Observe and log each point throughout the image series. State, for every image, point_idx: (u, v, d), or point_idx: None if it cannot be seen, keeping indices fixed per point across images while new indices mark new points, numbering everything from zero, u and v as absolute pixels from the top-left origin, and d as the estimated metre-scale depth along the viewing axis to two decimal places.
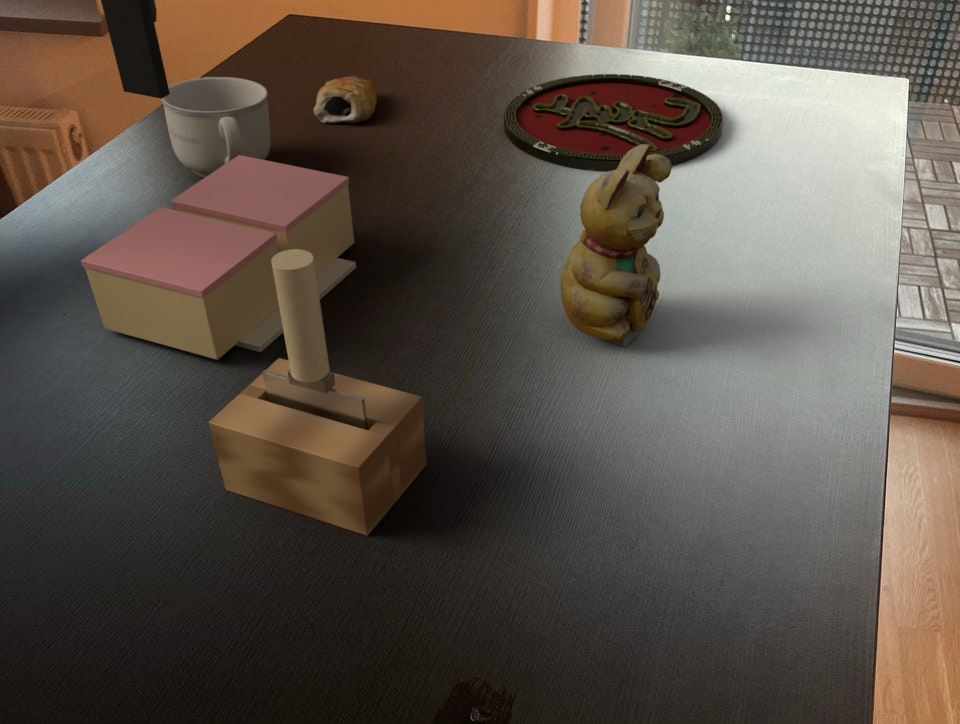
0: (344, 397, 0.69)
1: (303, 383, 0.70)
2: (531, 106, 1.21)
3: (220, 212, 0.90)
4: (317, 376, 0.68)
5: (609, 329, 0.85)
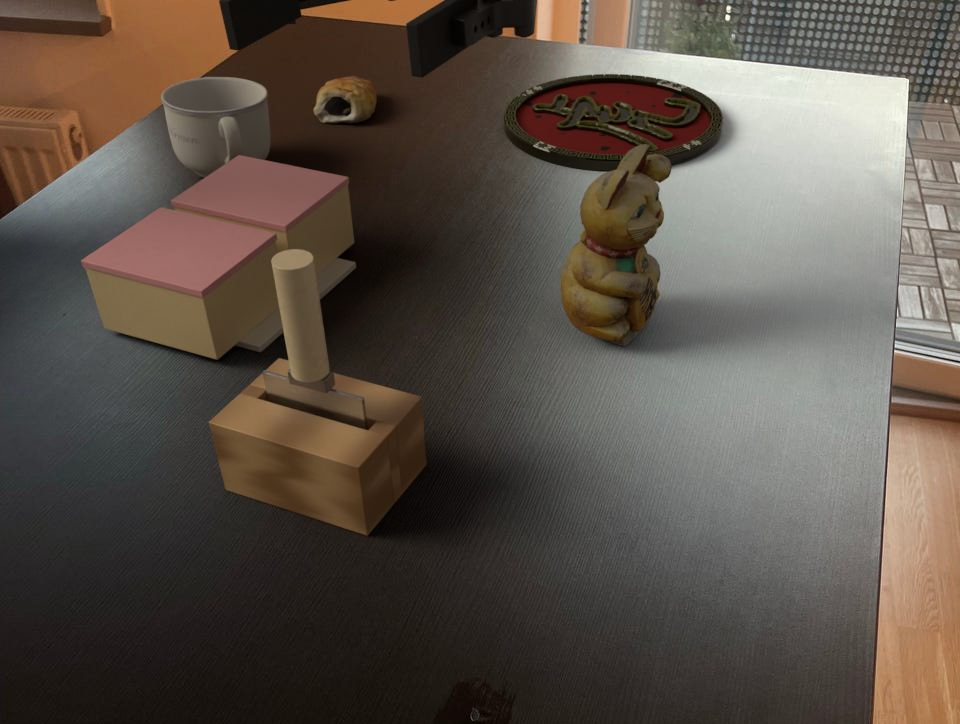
0: (344, 397, 0.69)
1: (303, 383, 0.70)
2: (531, 106, 1.21)
3: (220, 212, 0.90)
4: (317, 376, 0.68)
5: (609, 329, 0.85)
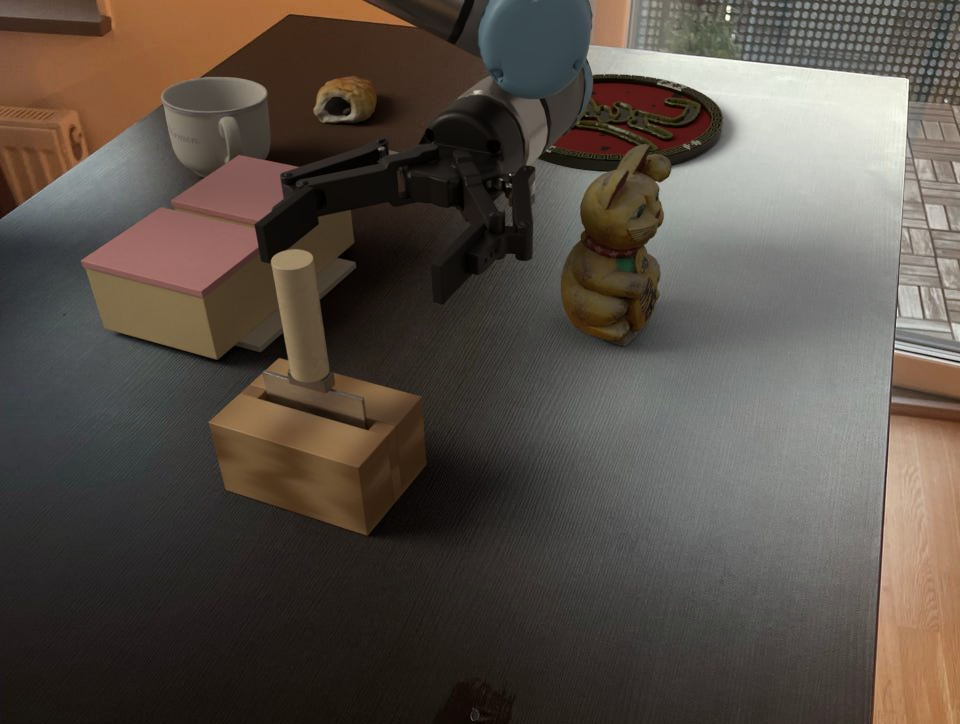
0: (344, 397, 0.69)
1: (303, 383, 0.70)
2: None
3: (220, 212, 0.90)
4: (317, 376, 0.68)
5: (609, 329, 0.85)
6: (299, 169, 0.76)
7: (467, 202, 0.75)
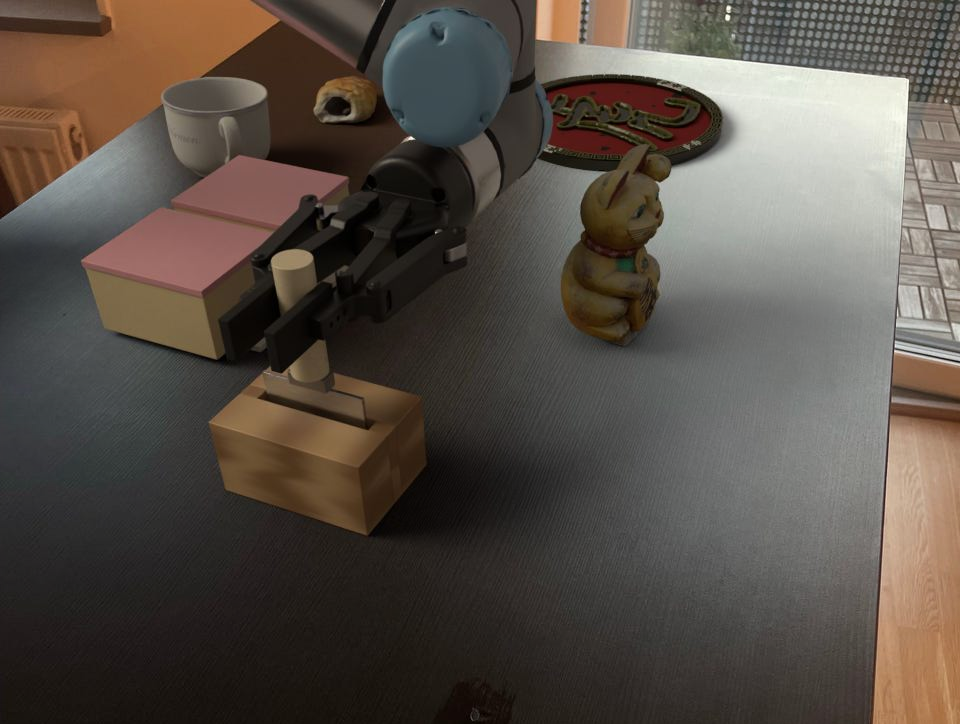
0: (344, 397, 0.69)
1: (303, 383, 0.70)
2: None
3: (220, 212, 0.90)
4: (317, 376, 0.68)
5: (609, 329, 0.85)
6: (263, 247, 0.68)
7: None
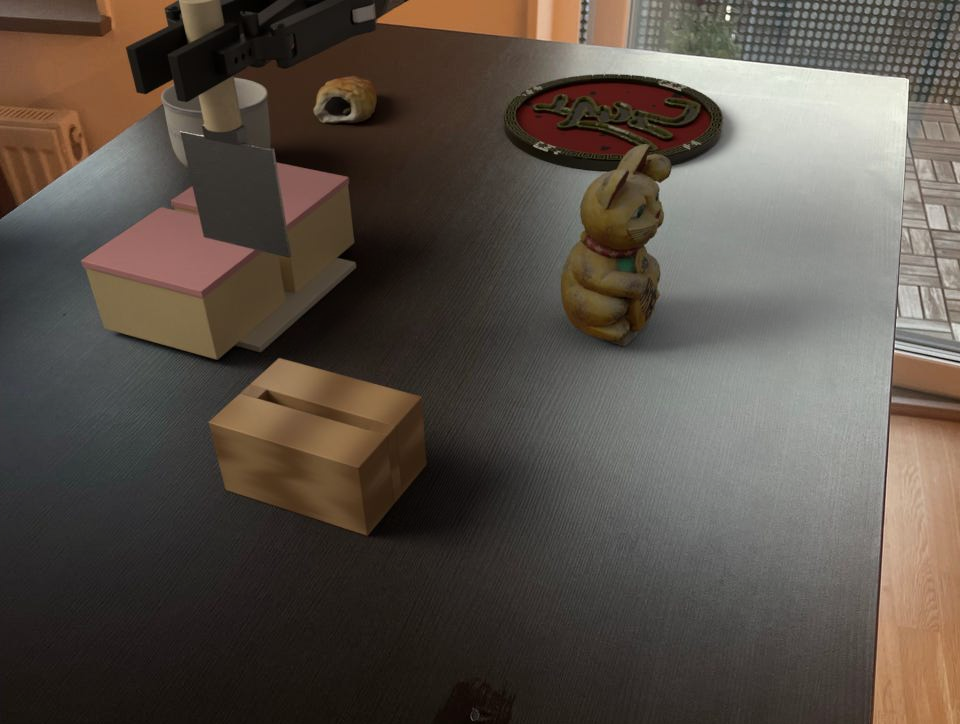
0: (256, 150, 0.73)
1: (217, 137, 0.73)
2: (531, 106, 1.21)
3: None
4: (228, 126, 0.72)
5: (609, 329, 0.85)
6: (178, 2, 0.72)
7: None
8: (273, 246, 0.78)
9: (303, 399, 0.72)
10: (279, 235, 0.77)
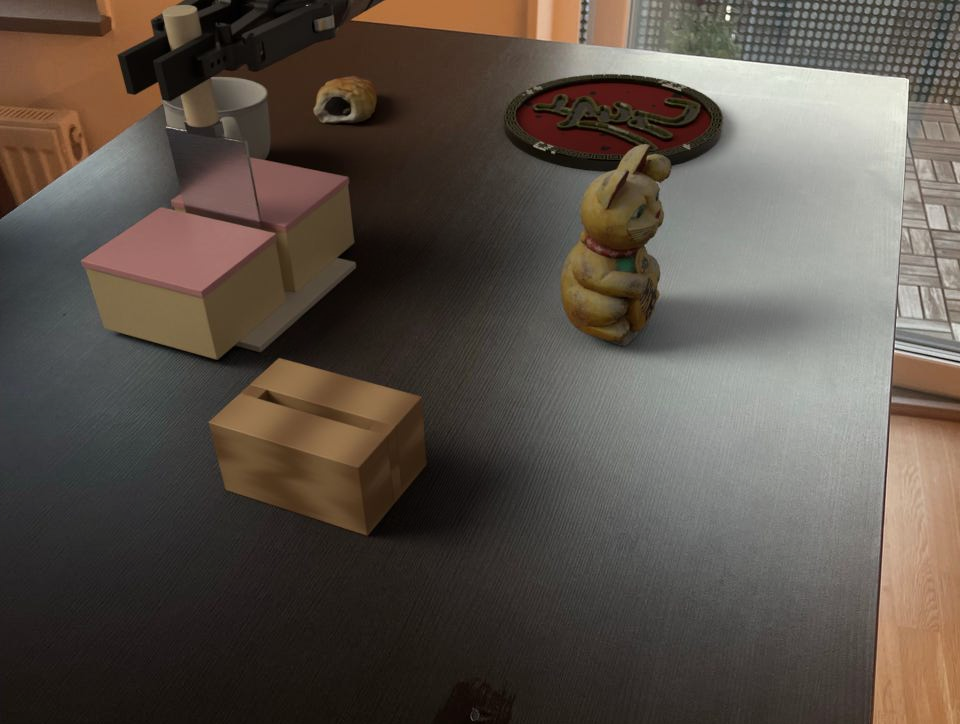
0: (231, 142, 0.84)
1: (197, 131, 0.84)
2: (531, 106, 1.21)
3: None
4: (207, 121, 0.83)
5: (609, 329, 0.85)
6: (162, 15, 0.83)
7: None
8: None
9: (303, 399, 0.72)
10: (253, 217, 0.88)
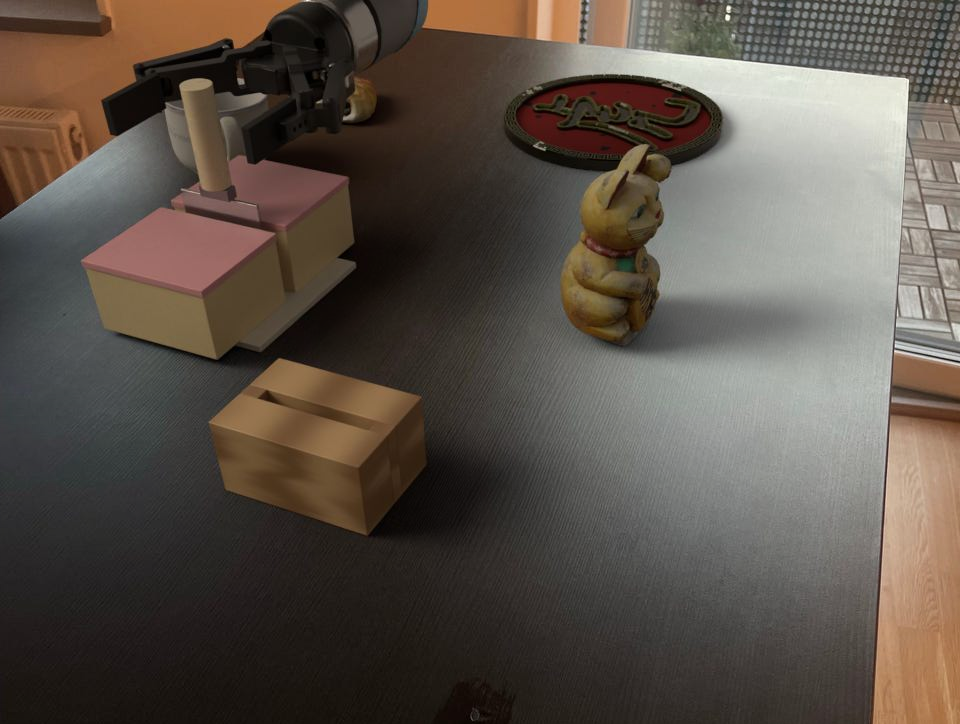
0: (243, 205, 0.88)
1: (211, 194, 0.88)
2: (531, 106, 1.21)
3: None
4: (221, 186, 0.87)
5: (609, 329, 0.85)
6: (150, 61, 0.89)
7: (291, 88, 0.87)
8: None
9: (303, 399, 0.72)
10: None
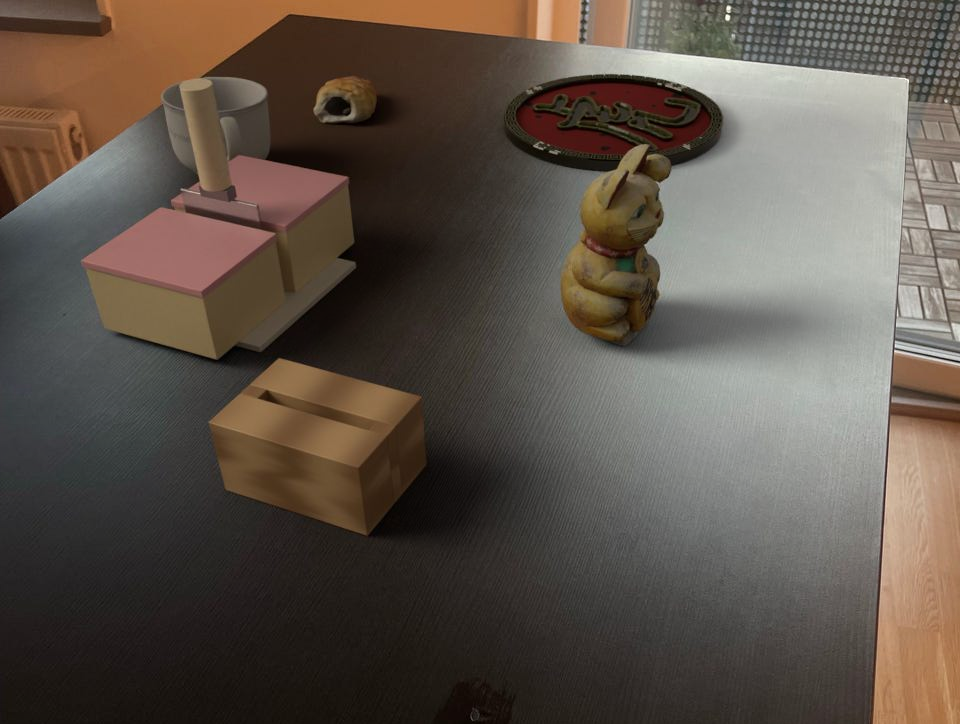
0: (243, 205, 0.88)
1: (211, 194, 0.88)
2: (531, 106, 1.21)
3: None
4: (221, 186, 0.87)
5: (609, 329, 0.85)
6: None
7: None
8: None
9: (303, 399, 0.72)
10: None
